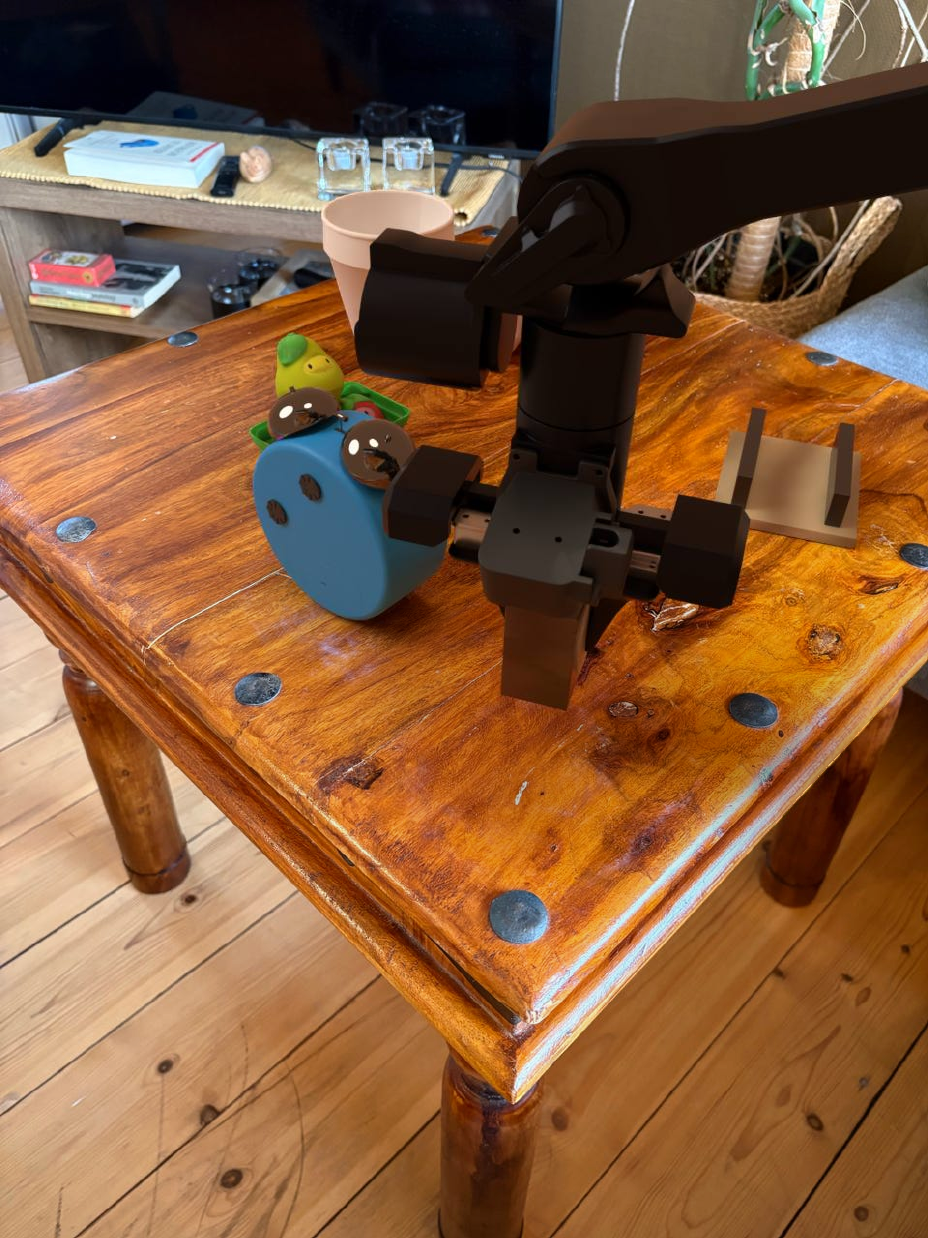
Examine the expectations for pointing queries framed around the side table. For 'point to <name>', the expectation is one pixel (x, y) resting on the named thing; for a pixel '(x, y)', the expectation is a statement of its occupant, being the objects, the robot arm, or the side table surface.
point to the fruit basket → (323, 385)
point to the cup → (376, 232)
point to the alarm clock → (337, 505)
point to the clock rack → (794, 483)
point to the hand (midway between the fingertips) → (551, 638)
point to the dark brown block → (543, 655)
